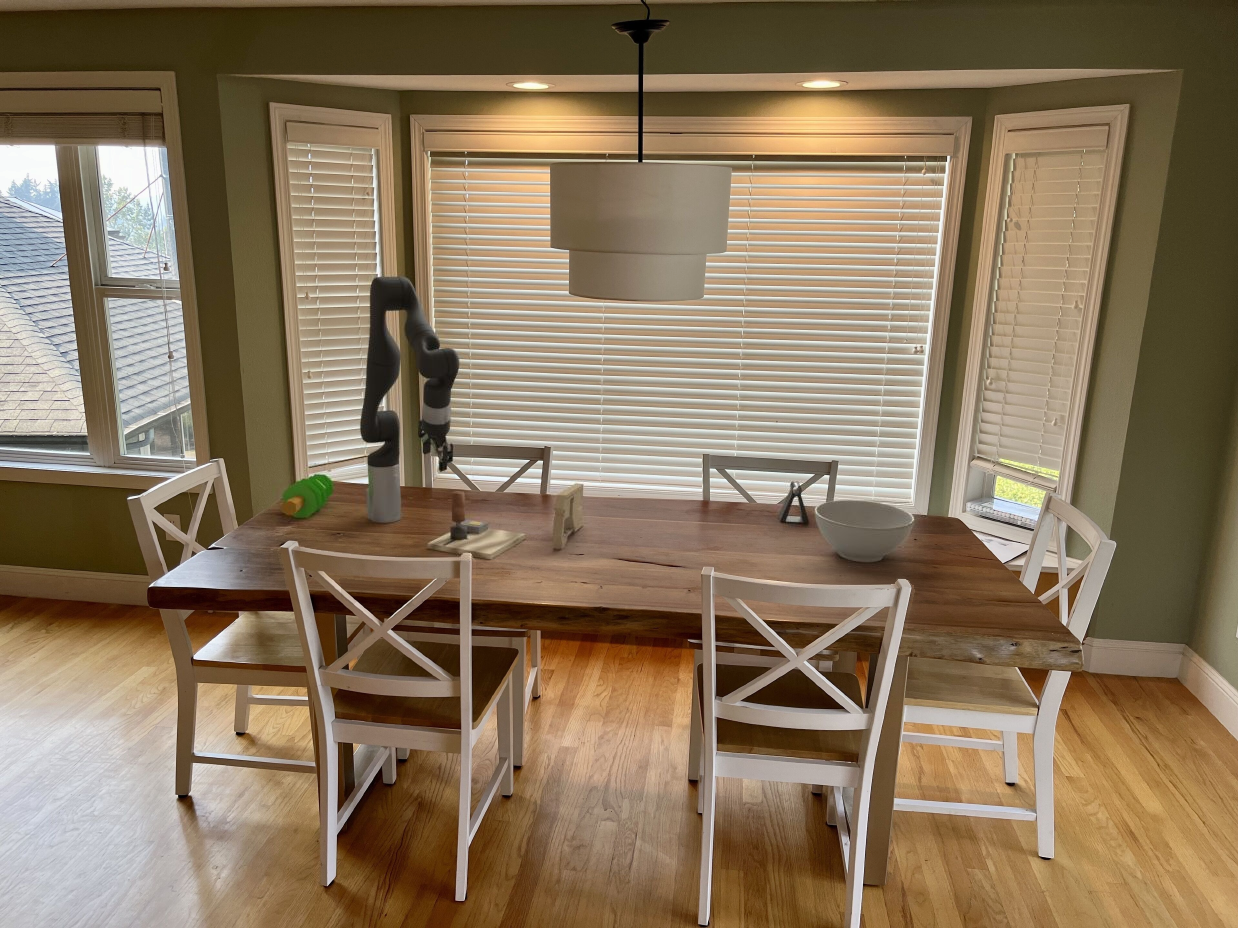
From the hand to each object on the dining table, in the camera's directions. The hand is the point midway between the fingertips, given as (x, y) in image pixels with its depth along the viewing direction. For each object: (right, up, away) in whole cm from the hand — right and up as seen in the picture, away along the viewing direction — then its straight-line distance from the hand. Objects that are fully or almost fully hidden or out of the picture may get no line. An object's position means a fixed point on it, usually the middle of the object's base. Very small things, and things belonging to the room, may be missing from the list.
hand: (434, 461), depth 249 cm
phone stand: (+106, -18, +33) cm, 112 cm away
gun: (+36, -22, +12) cm, 44 cm away
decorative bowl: (+119, -26, +2) cm, 122 cm away
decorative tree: (-44, -15, +32) cm, 57 cm away
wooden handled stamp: (+6, -21, +4) cm, 23 cm away
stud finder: (+9, -20, +11) cm, 24 cm away
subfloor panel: (+11, -23, +4) cm, 26 cm away
